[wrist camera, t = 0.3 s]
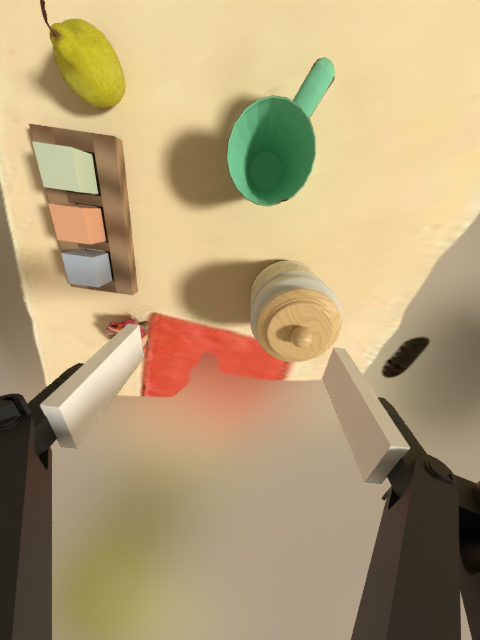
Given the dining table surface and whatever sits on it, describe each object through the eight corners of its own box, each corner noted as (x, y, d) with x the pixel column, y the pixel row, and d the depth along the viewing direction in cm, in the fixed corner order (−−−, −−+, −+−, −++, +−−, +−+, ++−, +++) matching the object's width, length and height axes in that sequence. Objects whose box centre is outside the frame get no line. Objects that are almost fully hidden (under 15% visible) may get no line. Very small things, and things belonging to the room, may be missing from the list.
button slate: (79, 249, 37) (61, 253, 34) (107, 253, 37) (92, 257, 34) (85, 276, 39) (68, 283, 36) (112, 280, 39) (98, 287, 36)
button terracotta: (69, 204, 34) (48, 203, 30) (100, 208, 34) (82, 208, 30) (76, 237, 36) (57, 239, 33) (105, 241, 36) (89, 244, 33)
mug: (270, 220, 35) (276, 223, 27) (221, 180, 33) (210, 170, 24) (336, 124, 29) (372, 87, 21) (282, 69, 27) (296, 1, 18)
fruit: (96, 120, 31) (13, 72, 20) (73, 52, 28) (-39, -48, 17) (141, 112, 30) (79, 58, 19) (123, 40, 27) (38, -71, 16)
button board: (41, 128, 31) (28, 123, 30) (122, 140, 31) (114, 136, 30) (78, 283, 42) (70, 286, 41) (137, 291, 43) (132, 295, 41)
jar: (323, 311, 43) (365, 370, 27) (261, 329, 45) (266, 392, 30) (311, 248, 37) (353, 276, 21) (241, 272, 40) (234, 312, 24)
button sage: (57, 149, 31) (32, 141, 27) (91, 154, 31) (71, 147, 27) (66, 189, 33) (43, 186, 29) (98, 194, 33) (79, 192, 29)
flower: (134, 299, 42) (96, 324, 37) (167, 333, 43) (134, 361, 38) (131, 315, 50) (99, 337, 45) (159, 343, 51) (130, 368, 46)
